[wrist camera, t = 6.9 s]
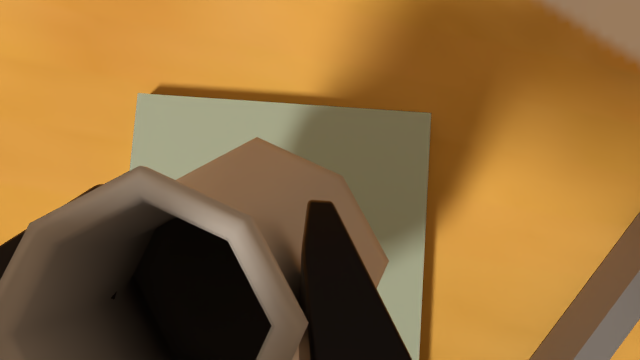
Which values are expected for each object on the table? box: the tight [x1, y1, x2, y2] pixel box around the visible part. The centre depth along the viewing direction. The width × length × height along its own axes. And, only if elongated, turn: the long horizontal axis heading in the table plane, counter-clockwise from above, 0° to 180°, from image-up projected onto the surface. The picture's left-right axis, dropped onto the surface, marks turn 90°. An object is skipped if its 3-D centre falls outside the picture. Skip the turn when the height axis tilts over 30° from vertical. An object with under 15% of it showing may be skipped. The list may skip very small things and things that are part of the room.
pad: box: [130, 93, 431, 360], centre depth 20 cm, size 12×12×1 cm
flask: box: [0, 137, 389, 360], centre depth 10 cm, size 7×7×10 cm
